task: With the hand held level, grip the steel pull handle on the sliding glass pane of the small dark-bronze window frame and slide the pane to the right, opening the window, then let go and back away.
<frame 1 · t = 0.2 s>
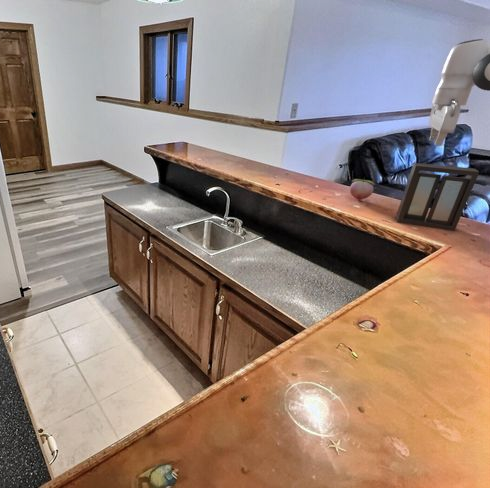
hand: (434, 143, 117), 30 cm above the counter, tool pointing down, fingers open, 8 cm apart
sash: (420, 194, 130), point 10 cm above the counter, slide at 0.0 cm
decorative fruit: (358, 200, 155), on the counter
window frame: (423, 224, 131), on the counter
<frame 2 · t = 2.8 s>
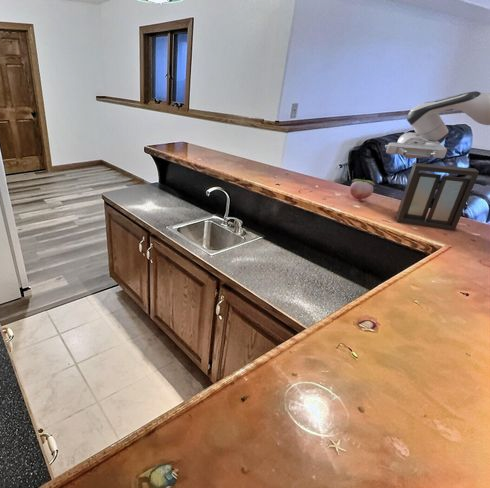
hand: (418, 154, 136), 22 cm above the counter, tool horizontal, fingers open, 8 cm apart
nothing on the counter moved.
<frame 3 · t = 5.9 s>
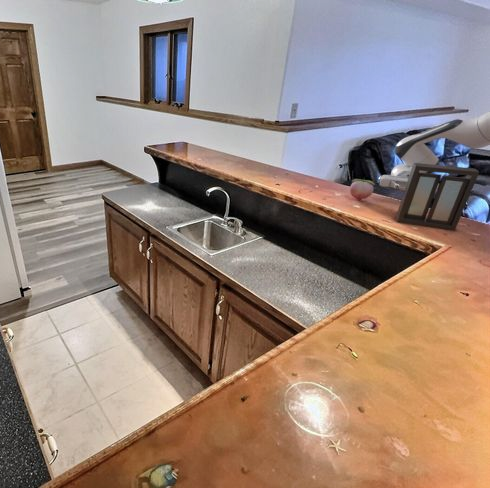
hand: (410, 188, 139), 10 cm above the counter, tool horizontal, fingers open, 8 cm apart
nothing on the counter moved.
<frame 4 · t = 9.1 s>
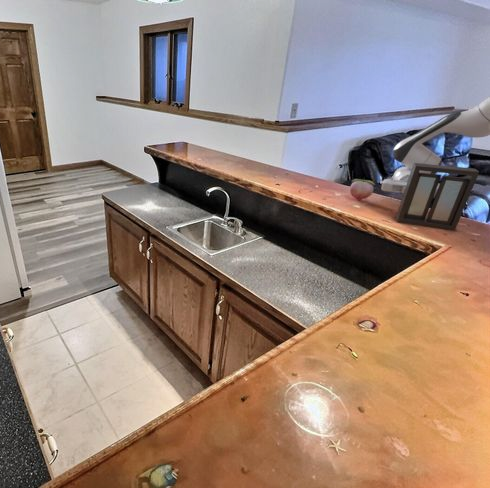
hand: (414, 193, 131), 10 cm above the counter, tool horizontal, fingers closed on sash, 2 cm apart
sash: (420, 194, 130), point 10 cm above the counter, slide at 0.0 cm, touching gripper
everything else where it was.
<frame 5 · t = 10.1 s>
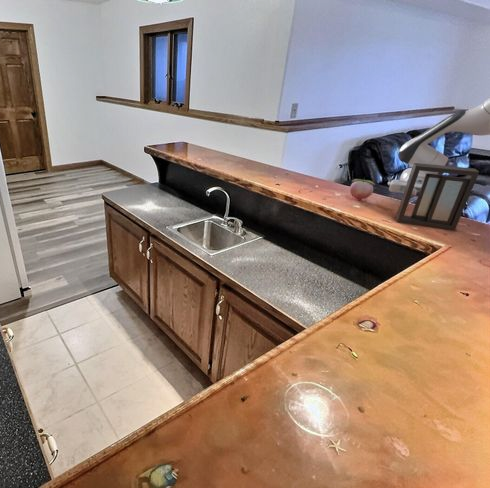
hand: (422, 194, 130), 10 cm above the counter, tool horizontal, fingers closed on sash, 2 cm apart
sash: (428, 195, 129), point 10 cm above the counter, slide at 2.7 cm, touching gripper
everything else where it was.
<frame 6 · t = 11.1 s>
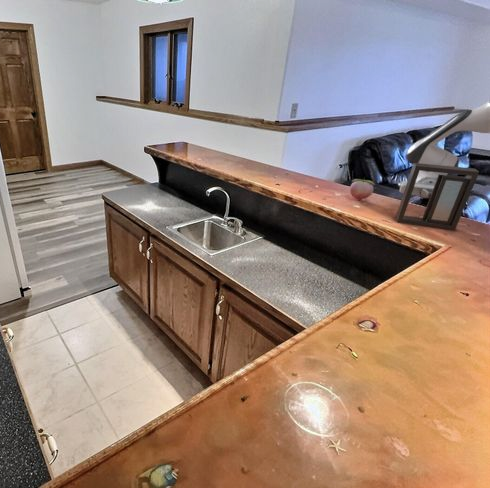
hand: (434, 196, 129), 10 cm above the counter, tool horizontal, fingers closed on sash, 2 cm apart
sash: (440, 197, 128), point 10 cm above the counter, slide at 6.4 cm, touching gripper
everything else where it was.
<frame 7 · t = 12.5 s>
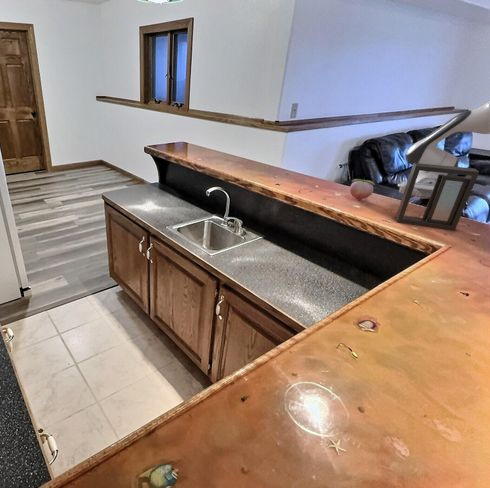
hand: (433, 196, 129), 10 cm above the counter, tool horizontal, fingers open, 8 cm apart
sash: (440, 197, 128), point 10 cm above the counter, slide at 6.4 cm
everything else where it was.
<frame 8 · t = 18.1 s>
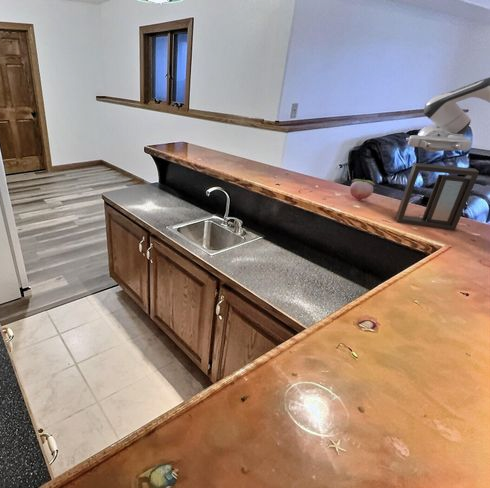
hand: (442, 146, 132), 26 cm above the counter, tool horizontal, fingers open, 8 cm apart
nothing on the counter moved.
at the end: sash slide at 6.4 cm; the gripper is holding nothing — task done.
